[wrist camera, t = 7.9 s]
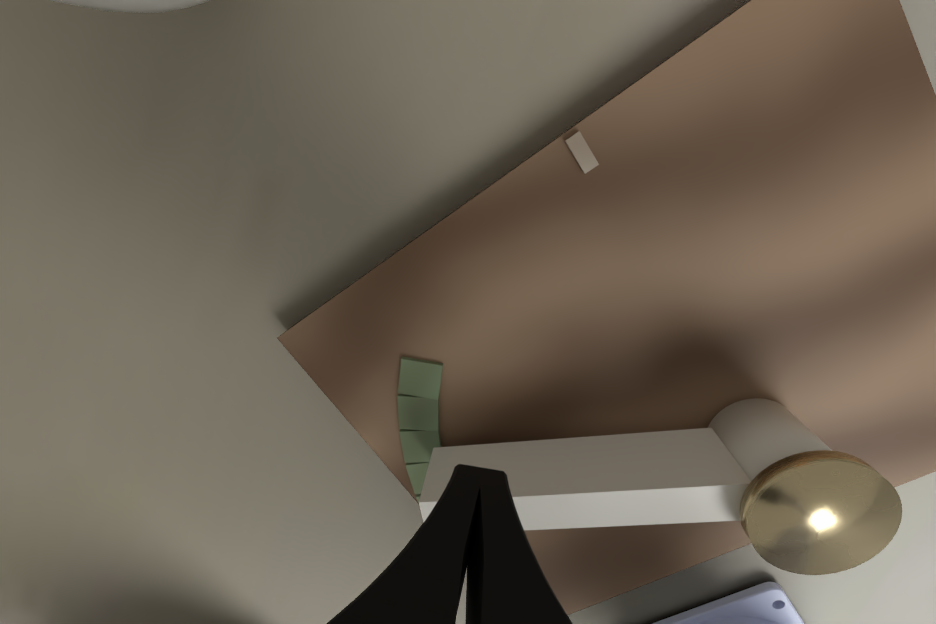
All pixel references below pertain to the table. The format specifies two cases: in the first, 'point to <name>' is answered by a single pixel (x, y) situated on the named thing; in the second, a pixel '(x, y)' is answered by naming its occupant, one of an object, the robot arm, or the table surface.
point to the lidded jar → (135, 5)
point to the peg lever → (700, 485)
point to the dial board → (673, 278)
